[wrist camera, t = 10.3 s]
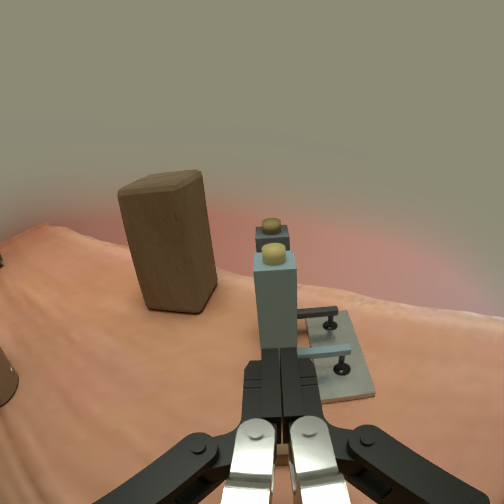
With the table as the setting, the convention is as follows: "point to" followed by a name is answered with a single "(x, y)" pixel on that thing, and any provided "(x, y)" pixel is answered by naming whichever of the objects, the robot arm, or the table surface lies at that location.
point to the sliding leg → (283, 304)
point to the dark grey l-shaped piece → (279, 234)
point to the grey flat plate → (328, 369)
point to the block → (170, 239)
